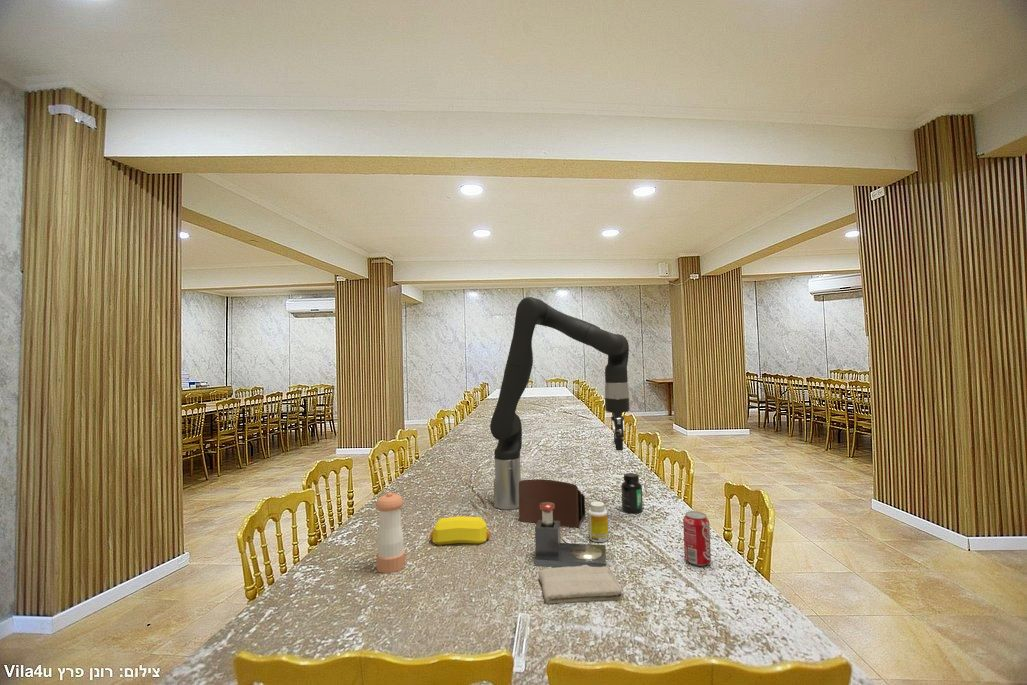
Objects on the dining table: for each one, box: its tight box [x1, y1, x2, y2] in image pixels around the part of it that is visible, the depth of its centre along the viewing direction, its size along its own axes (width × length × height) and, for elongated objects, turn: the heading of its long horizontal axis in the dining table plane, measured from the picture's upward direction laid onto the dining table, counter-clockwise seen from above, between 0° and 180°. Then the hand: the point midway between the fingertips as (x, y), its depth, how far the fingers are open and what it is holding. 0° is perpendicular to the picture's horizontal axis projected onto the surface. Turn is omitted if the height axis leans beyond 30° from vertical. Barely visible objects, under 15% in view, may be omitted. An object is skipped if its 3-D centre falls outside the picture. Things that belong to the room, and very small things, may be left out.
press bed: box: [533, 520, 607, 568], centre depth 119 cm, size 18×11×8 cm, turn 79°
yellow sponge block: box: [429, 515, 491, 546], centre depth 133 cm, size 18×7×8 cm
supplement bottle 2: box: [620, 472, 644, 515], centre depth 153 cm, size 7×7×12 cm
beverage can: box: [682, 510, 712, 567], centre depth 115 cm, size 6×6×12 cm
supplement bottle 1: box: [587, 501, 609, 543], centre depth 131 cm, size 6×6×10 cm
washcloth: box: [538, 565, 624, 605], centre depth 104 cm, size 12×18×3 cm, turn 94°
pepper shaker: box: [375, 491, 406, 574], centre depth 118 cm, size 7×7×19 cm
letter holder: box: [518, 478, 586, 529], centre depth 147 cm, size 10×20×14 cm, turn 68°
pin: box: [540, 502, 555, 527], centre depth 121 cm, size 4×4×8 cm
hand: (618, 447), depth 143 cm, fingers open, 8 cm apart
